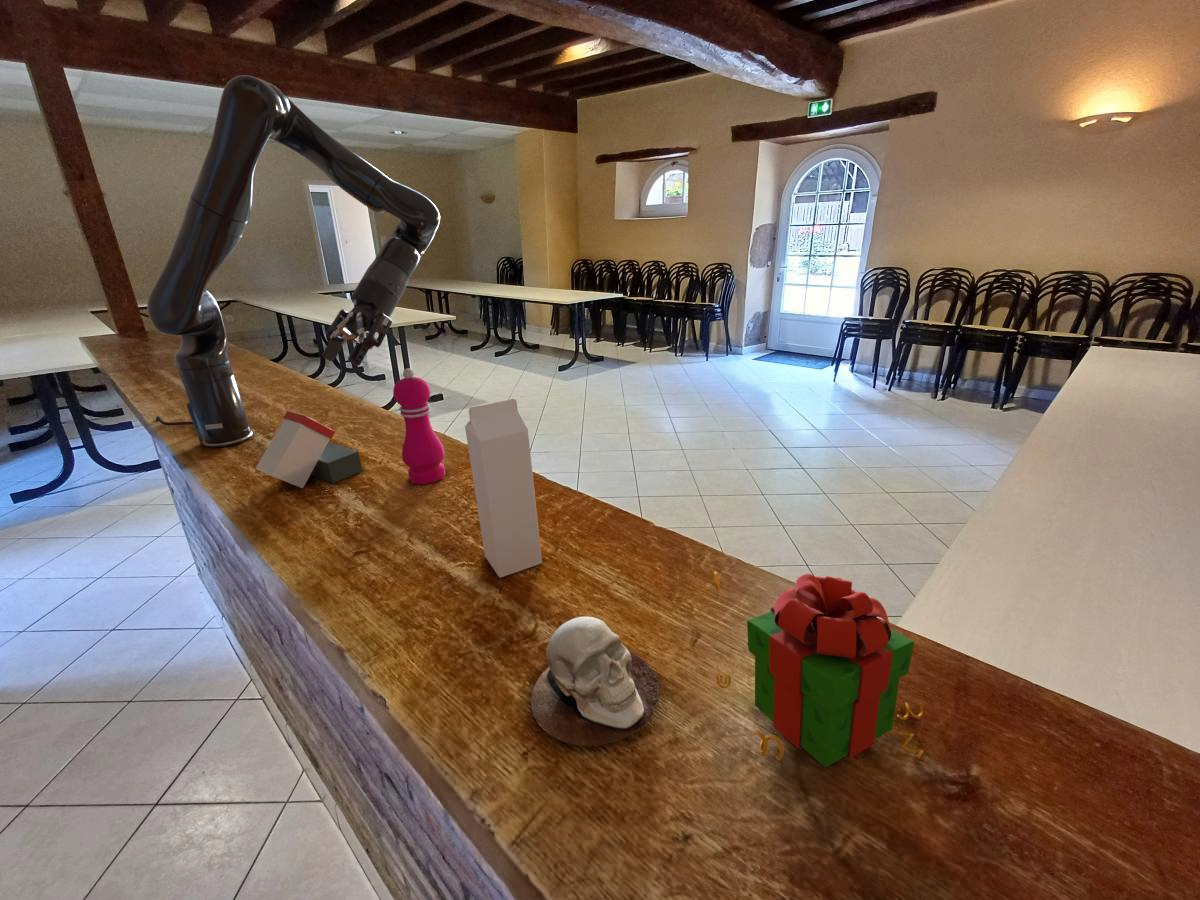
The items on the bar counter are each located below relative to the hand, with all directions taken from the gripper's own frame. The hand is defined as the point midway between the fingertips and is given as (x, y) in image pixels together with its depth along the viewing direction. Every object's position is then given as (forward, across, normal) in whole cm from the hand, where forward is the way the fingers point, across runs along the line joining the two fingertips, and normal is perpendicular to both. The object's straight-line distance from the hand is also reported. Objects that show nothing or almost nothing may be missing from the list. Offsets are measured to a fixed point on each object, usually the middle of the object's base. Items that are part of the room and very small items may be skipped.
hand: (339, 361), depth 102 cm
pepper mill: (+14, +19, +14) cm, 28 cm away
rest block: (+19, 0, +9) cm, 21 cm away
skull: (+31, +74, -3) cm, 80 cm away
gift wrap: (+26, +90, +2) cm, 94 cm away
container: (+22, 0, +5) cm, 23 cm away
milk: (+22, +51, +6) cm, 56 cm away
